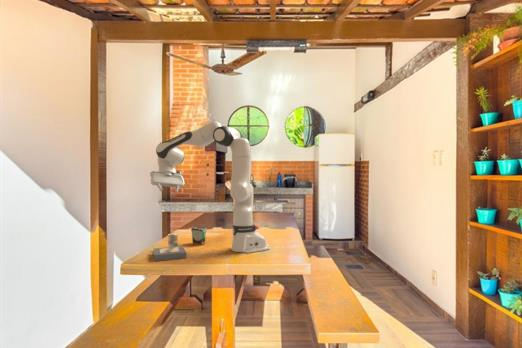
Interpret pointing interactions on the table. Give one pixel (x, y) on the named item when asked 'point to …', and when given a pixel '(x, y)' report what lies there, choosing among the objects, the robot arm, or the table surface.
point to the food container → (198, 235)
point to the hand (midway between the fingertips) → (169, 191)
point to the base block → (169, 253)
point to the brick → (172, 240)
